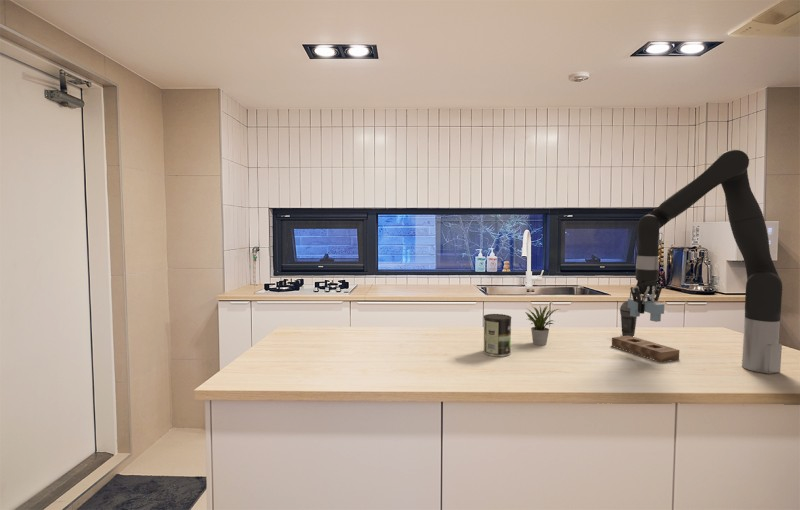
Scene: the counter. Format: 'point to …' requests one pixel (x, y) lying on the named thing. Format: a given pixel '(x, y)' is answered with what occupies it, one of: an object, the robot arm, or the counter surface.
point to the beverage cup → (627, 320)
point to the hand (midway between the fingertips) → (645, 312)
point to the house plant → (540, 326)
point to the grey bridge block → (647, 309)
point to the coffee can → (497, 335)
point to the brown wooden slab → (646, 348)
